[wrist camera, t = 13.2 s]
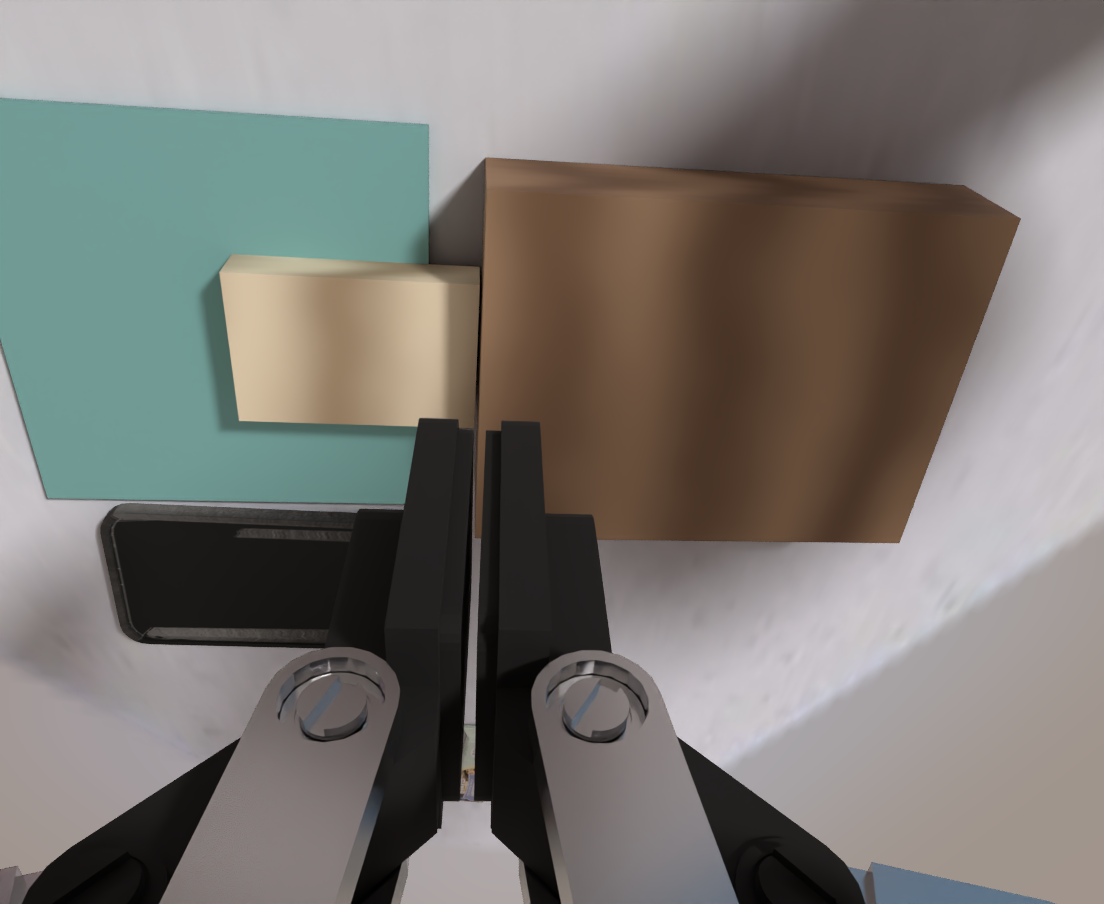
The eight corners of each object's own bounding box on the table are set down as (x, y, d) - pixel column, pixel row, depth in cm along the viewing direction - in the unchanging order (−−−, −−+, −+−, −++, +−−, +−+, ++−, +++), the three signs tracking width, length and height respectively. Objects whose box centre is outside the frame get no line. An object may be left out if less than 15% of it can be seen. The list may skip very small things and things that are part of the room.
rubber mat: (428, 124, 30) (428, 127, 29) (429, 498, 38) (428, 504, 38) (-66, 93, 28) (-73, 96, 28) (51, 492, 37) (47, 498, 36)
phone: (442, 651, 42) (123, 643, 40) (442, 635, 43) (131, 627, 41) (450, 525, 38) (95, 510, 36) (450, 510, 39) (104, 494, 37)
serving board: (964, 185, 32) (1020, 218, 29) (863, 488, 40) (899, 543, 36) (485, 157, 30) (486, 189, 27) (475, 481, 38) (474, 538, 34)
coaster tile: (479, 266, 32) (479, 284, 31) (474, 405, 35) (474, 428, 34) (231, 254, 31) (219, 272, 30) (249, 398, 34) (239, 421, 33)
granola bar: (464, 715, 47) (463, 731, 46) (505, 719, 47) (506, 735, 46) (445, 792, 50) (444, 808, 49) (484, 795, 51) (484, 811, 50)
